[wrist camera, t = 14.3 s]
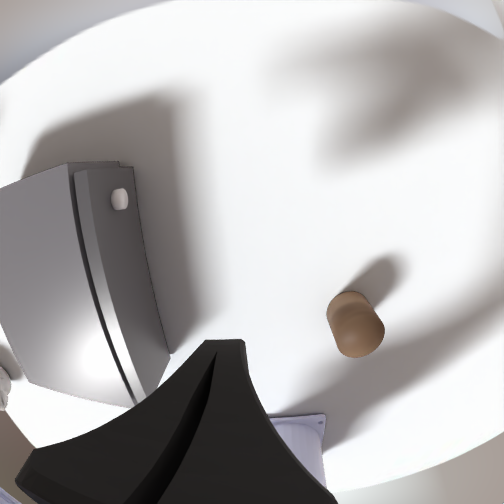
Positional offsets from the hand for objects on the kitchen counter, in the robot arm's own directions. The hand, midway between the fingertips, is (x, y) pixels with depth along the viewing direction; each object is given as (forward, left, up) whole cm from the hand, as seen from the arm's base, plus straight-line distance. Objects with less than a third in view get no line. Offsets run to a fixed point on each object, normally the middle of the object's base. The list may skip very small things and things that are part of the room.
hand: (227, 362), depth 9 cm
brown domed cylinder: (-4, -7, -10) cm, 13 cm away
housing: (0, +14, -10) cm, 17 cm away
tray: (0, +12, -10) cm, 16 cm away
